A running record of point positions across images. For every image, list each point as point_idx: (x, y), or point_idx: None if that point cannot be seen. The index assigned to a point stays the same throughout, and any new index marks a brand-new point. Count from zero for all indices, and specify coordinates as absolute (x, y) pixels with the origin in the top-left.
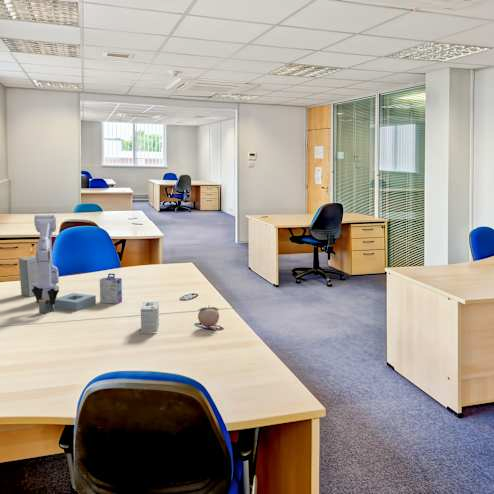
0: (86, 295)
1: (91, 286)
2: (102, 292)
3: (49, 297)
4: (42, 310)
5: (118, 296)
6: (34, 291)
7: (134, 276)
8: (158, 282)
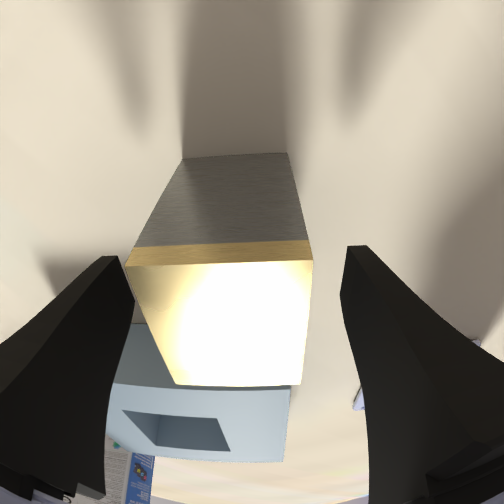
0: (167, 453)
1: (345, 472)
2: (117, 466)
3: (43, 333)
4: (232, 170)
5: None
6: (481, 407)
7: (293, 499)
8: (202, 494)
